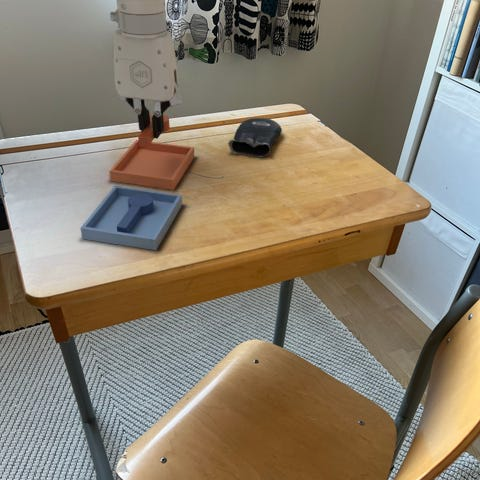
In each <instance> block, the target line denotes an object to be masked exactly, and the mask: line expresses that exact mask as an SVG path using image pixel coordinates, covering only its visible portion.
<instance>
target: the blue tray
mask: <svg viewBox="0 0 480 480" xmlns="http://www.w3.org/2000/svg"><path fill="white" fill-rule="evenodd" d="M136 194H147V195H150V196H151V197H152V198H153V205H154V210H153V212H152V213H150V214H148V215H143V216H141V218H140V219H139V221H138V222H137V224H136V225H135V227H134V228H133V230H132V231H131V233H130V234H129V233H123V232H117V225H118V224H119V222H120V221H121V220H122V218H123V217H124V215H125V214H126V213H127V211H128V210H129V207H128V199H129V197H131V196H132V195H136ZM182 206H183V195H182V194H177V193H171V192H163V191H155V190H149V189H143V188H135V187H128V186H123V185H113V187H112V188H111V190H109V192H108V193H107V194H106V196H105V197H104V198H103V199H102V201H101V202H100V203H99V204H98V206H97V207H96V208H95V210H94V211H93V212H92V213H91V214H90V215H89V216H88V218H86V221H85V222H83V224H82V225H81V227H79V228H80V233H81V238H82V240H89V241H94V242H101V243H106V244H114V245H120V246H126V247H133V248H139V249H145V250H152V251H157V250H158V248H159V246H160V244H161V243H162V241H163V240H164V237H165V236H166V234H167V233H168V231H169V229H170V227H171V226H172V224H173V222H174V220H175V218H176V217H177V216H178V213H179V211H180V210H181V208H182Z"/></svg>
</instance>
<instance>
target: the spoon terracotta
mask: <svg viewBox="0 0 480 480" xmlns="http://www.w3.org/2000/svg"><path fill="white" fill-rule="evenodd" d="M153 115H154V114H150V124H149V125H148V126H147V127H146V128H145V129H144V130H143V132H142V133H140V134H139V135H138V136H137V138H138V139H137V140H138V142H139V146H140V147H148V146H149V145H150V143H151V142H154V140H155V138H154V135H153V128H152V116H153ZM163 118H164V131H163V133H165V132H168V131H169V130H170V128H171V126H170V117H169V116H167V115H165V114H163Z"/></svg>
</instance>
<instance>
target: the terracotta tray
mask: <svg viewBox="0 0 480 480" xmlns="http://www.w3.org/2000/svg"><path fill="white" fill-rule="evenodd" d="M194 158H195V147H193V146H186V145H178V144H172V143H163V142H155V141H152V142H151V143H150V145H149V146H148V147H140V146H139V142H138V139H136V140H135V141H134V142H133V143H132V144H131V145H130V146H129V148H127V150H126V151H125V152H124V153H123V154H122V155H121V156H120V157H119V159H118V160H117V161H116V163H115V164H114V165H113V166H112V167H111V169H109V171H108V172H109V178H110V181H111V182H117V183H122V184H130V185H137V186H144V187H150V188H157V189H158V188H159V189H165V190H172V191H174V190H175V189H176V187H177V185H178V184H179V182H180V181H181V179H182V178H183V176H184V174H185V172H186V171H187V169H188V168H189V166H190V164H191V163H192V162H193V160H194Z"/></svg>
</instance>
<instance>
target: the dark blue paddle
mask: <svg viewBox="0 0 480 480" xmlns="http://www.w3.org/2000/svg"><path fill="white" fill-rule="evenodd" d="M128 207H129V210H128V211H127V213H126V214H125V215H124V217H123V218H122V220H121V221H120V222H119V224H118V225H117V232H123V233H129V234H130V233H131V231H132V230H133V228H134V227H135V225H136V224H137V222H138V221H139V219H140V218H141V216H143V215H148V214H150V213H152V212H153V210H154V205H153V198H152V197H151V196H150V195H147V194H136V195H132V196H131V197H129V199H128Z"/></svg>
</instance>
